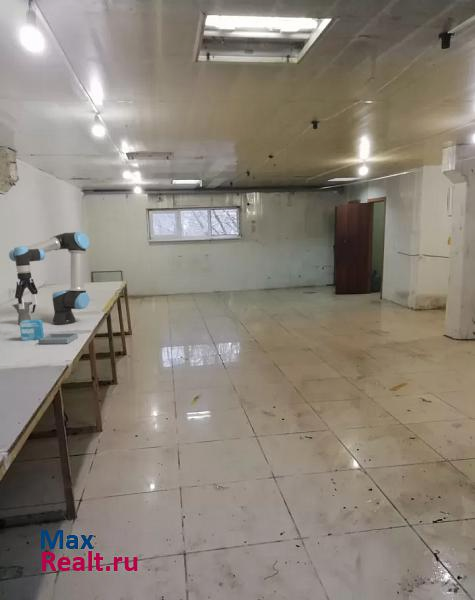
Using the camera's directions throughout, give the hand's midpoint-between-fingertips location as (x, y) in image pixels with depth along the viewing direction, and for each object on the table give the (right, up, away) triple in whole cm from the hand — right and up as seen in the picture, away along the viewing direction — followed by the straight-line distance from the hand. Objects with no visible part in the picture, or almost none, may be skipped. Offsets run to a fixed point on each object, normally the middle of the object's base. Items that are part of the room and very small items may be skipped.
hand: (28, 306), depth 260 cm
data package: (+1, -21, +4) cm, 21 cm away
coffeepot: (-26, -13, +50) cm, 58 cm away
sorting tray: (+20, -21, -4) cm, 29 cm away
